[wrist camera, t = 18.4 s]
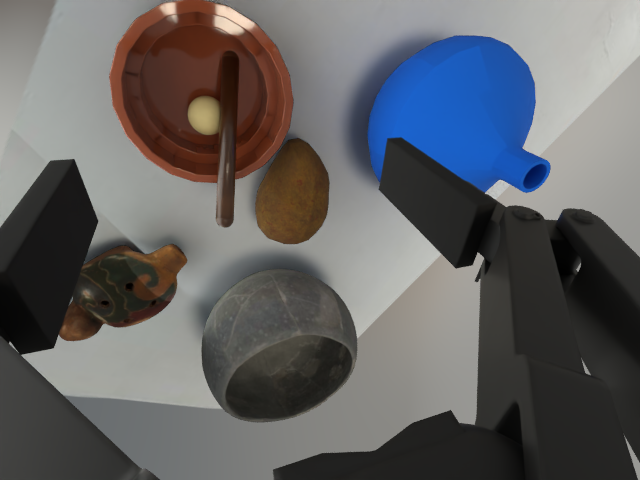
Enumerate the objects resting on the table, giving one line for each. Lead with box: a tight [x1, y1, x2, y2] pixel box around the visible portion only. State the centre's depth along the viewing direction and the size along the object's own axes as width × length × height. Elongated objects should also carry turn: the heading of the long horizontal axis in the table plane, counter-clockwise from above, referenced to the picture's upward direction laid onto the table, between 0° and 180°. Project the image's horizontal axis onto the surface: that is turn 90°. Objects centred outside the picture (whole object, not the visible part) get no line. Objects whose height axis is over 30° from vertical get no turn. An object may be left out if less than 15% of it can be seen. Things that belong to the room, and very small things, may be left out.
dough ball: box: [188, 96, 220, 135], centre depth 33 cm, size 4×4×4 cm
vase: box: [367, 36, 550, 193], centre depth 36 cm, size 18×18×19 cm
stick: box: [216, 51, 240, 227], centre depth 32 cm, size 2×2×17 cm
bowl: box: [202, 269, 357, 422], centre depth 47 cm, size 20×20×15 cm
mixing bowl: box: [109, 0, 293, 183], centre depth 32 cm, size 15×15×6 cm
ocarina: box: [59, 244, 187, 341], centre depth 40 cm, size 10×15×8 cm, turn 118°
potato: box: [255, 138, 330, 244], centre depth 40 cm, size 8×12×9 cm
